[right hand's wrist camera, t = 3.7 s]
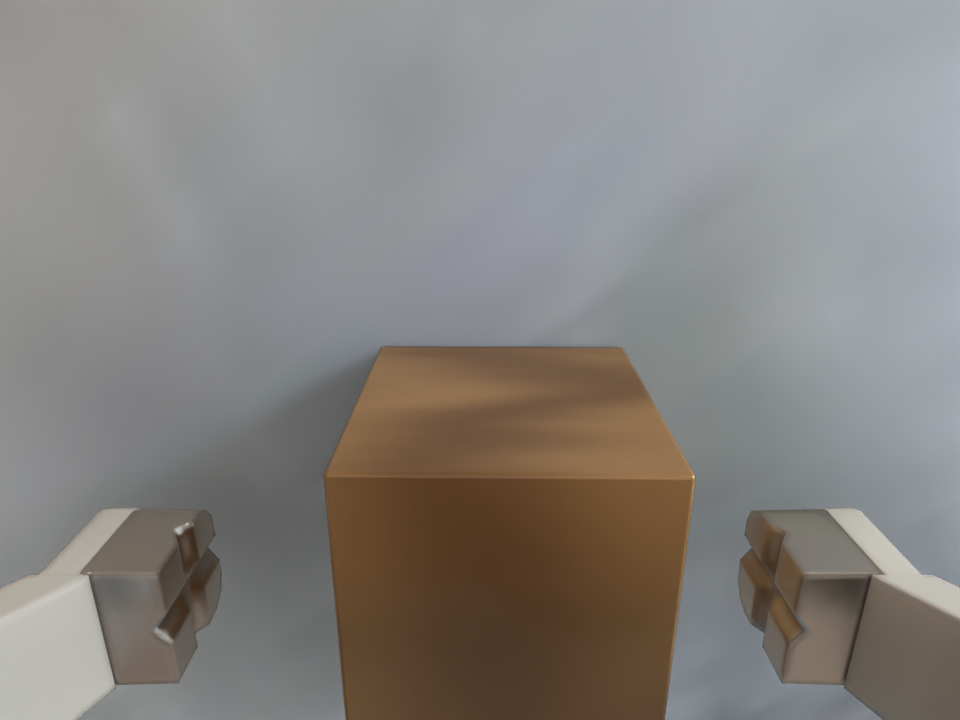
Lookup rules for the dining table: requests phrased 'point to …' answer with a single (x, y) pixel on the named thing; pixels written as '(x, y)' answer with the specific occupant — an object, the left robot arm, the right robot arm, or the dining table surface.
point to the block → (506, 537)
